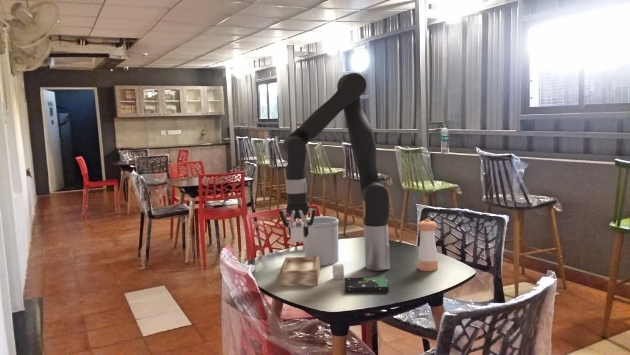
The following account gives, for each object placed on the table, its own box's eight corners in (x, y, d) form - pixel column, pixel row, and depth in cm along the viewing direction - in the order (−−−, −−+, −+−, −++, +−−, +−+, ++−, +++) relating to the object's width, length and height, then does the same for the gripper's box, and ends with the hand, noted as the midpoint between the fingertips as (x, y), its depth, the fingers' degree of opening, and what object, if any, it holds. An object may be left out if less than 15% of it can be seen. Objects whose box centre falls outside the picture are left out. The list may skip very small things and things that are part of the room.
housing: (303, 241, 172) (302, 225, 171) (291, 242, 172) (290, 226, 171) (306, 233, 184) (305, 218, 183) (294, 234, 184) (293, 219, 183)
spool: (344, 276, 178) (343, 263, 178) (344, 280, 175) (343, 267, 174) (333, 277, 179) (332, 264, 178) (333, 280, 175) (332, 267, 174)
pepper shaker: (441, 267, 183) (440, 218, 181) (431, 272, 178) (430, 221, 176) (424, 264, 188) (423, 216, 186) (414, 269, 183) (413, 219, 181)
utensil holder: (332, 254, 209) (331, 214, 207) (345, 263, 195) (343, 220, 193) (300, 258, 205) (298, 218, 203) (311, 268, 191) (309, 225, 189)
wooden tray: (320, 270, 188) (319, 256, 187) (317, 285, 170) (317, 270, 170) (286, 271, 189) (285, 257, 188) (280, 286, 171) (279, 271, 171)
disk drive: (345, 296, 161) (389, 294, 160) (344, 287, 160) (389, 286, 160) (344, 285, 171) (386, 283, 170) (344, 277, 171) (386, 275, 170)
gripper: (275, 193, 173) (278, 239, 175) (315, 191, 172) (317, 238, 174) (278, 190, 180) (281, 235, 182) (316, 188, 179) (318, 233, 181)
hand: (299, 236), depth 178 cm, fingers closed on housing, 4 cm apart
